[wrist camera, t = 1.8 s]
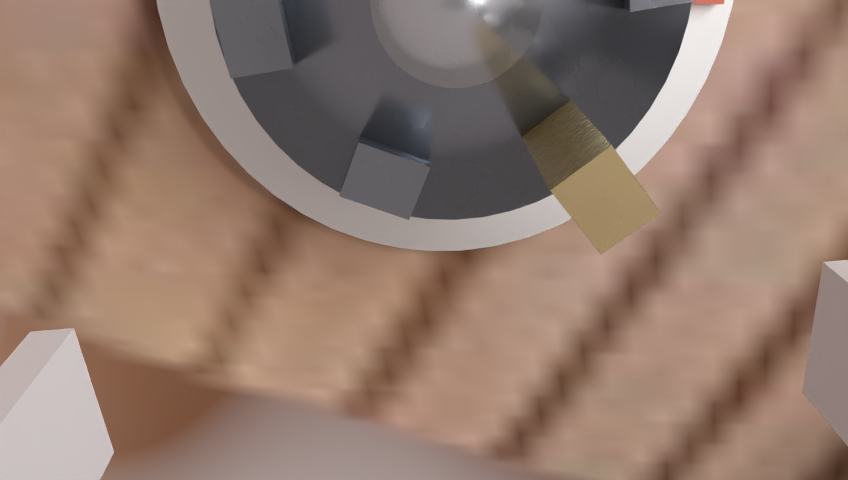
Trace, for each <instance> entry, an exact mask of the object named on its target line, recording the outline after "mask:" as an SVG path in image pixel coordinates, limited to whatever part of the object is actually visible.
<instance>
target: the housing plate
mask: <svg viewBox="0 0 848 480" xmlns="http://www.w3.org/2000/svg"><path fill="white" fill-rule="evenodd" d="M732 5H733V0H696V1H694V2H692V4H691V9H690V15H689V21H688V24H687V27H686V31H685V34H684V37H683V40H682V44H681V47H680V50H679V53H678V55H677V58H676V60H675V62H674V64H673V67H672V69H671V71H670V74H669V76H668V78H667V80H666V82H665V84H664V86H663V87H662V89H661V91H660V93H659V94H658V96H657V98H656V99H655V101H654V103H653V104H652V106H651V108H650V109H649V111H648V112H647V113H646V115H645V116H644V117H643V118H642V120H641V121H640V122H639V124H638V125H637V126H636V128H635V129H634V130H633V132H632V133H631V134H630V135H629V136H628V137H627V138H626V139H625V140H624V141H623V142H622V143H621V144H620V145H619V147H618V148H617V149H616V152H617V153H618V154H619V156H620V157H621V159H622V160H623V161H624V163H625V164H626V165H627V167H628V168H629V170H630V171H631V172H632V174H633V175H635V174H636V173H637V172H638V171H639V170H640V169H642V168H643V167H644V166H645V165H646V163H647V162H648V161H649V160H650V159H651V158H652V157H653V156H654V155H655V154H656V153H657V151H658V150H659V149H660V148H661V147H662V146H663V145H664V144H665V143H666V142H667V140H668V139H669V138H670V136H671V135H672V133H673V132H674V131H675V129H676V128H677V126H678V125H679V124H680V122H681V121H682V120H683V118H684V117H685V115H686V114H687V113H688V111H689V109H690V108H691V106H692V104H693V102H694V101H695V99H696V97H697V95H698V93H699V92H700V90H701V88H702V86H703V84H704V83H705V81H706V79H707V77H708V75H709V72H710V70H711V67H712V65H713V63H714V60H715V58H716V55H717V53H718V51H719V48H720V46H721V43H722V40H723V36H724V33H725V29H726V26H727V22H728V19H729V15H730V12H731V8H732ZM157 7H158V12H159V15H160V19H161V23H162V26H163V30H164V34H165V37H166V41H167V45H168V48H169V51H170V53H171V55H172V58H173V60H174V63H175V65H176V68H177V70H178V73H179V75H180V77H181V80H182V82H183V85H184V86H185V88H186V90H187V92H188V93H189V95H190V97H191V99H192V101H193V102H194V104H195V106H196V108H197V110H198V111H199V113H200V115H201V117H202V118H203V119H204V121H205V122H206V124H207V125H208V126H209V128H210V129H211V130H212V132H213V133H214V135H215V136H216V137H217V139H218V140H219V141H220V143H221V144H222V146H223V147H224V148H225V149H226V150H227V151H228V152H229V153H230V154H231V155H232V157H233V158H234V159H235V160H236V161H237V162H238V163H239V164H240V165H241V166H242V167H243V168H244V169H245V171H246V172H247V173H248V174H250V175H251V176H252V177H253V178H254V179H256V180H257V181H258V182H259V183H260V184H262V185H263V186H264V187H265V188H266V189H267V190H269V191H270V192H271V193H272V194H273V195H275V196H276V197H278V198H279V199H281V200H282V201H284V202H285V203H287V204H288V205H290V206H291V207H293V208H294V209H296V210H297V211H299V212H300V213H302V214H304V215H306V216H308V217H310V218H312V219H314V220H316V221H318V222H320V223H322V224H324V225H326V226H328V227H330V228H332V229H334V230H337V231H340V232H342V233H345V234H348V235H351V236H354V237H356V238H359V239H362V240H365V241H369V242H374V243H378V244H383V245H387V246H392V247H396V248H405V249H414V250H424V251H462V250H470V249H477V248H485V247H492V246H497V245H501V244H505V243H509V242H513V241H517V240H520V239H524V238H528V237H530V236H533V235H535V234H538V233H541V232H543V231H546V230H548V229H551V228H554V227H556V226H559V225H560V224H562V223H564V222H566V221H568V220H570V219H572V218H571V216H570V215H569V214H568V213H567V211H566V210H565V209H564V208H563V206H562V205H561V204H560V203H559V201H558V200H557V199H556V197H555V196H554V195H553V194H552V195H550V196H548V197H546V198H544V199H542V200H540V201H538V202H535V203H533V204H530V205H527V206H524V207H521V208H518V209H515V210H512V211H509V212H504V213H500V214H495V215H491V216H486V217H479V218H469V219H459V220H443V219H423V218H417V217H410V219H409V220H407V219H404V218H401V217H398V216H395V215H392V214H389V213H387V212H384V211H381V210H378V209H375V208H372V207H369V206H366V205H363V204H360V203H357V202H354V201H352V200H349V199H346V198H343V197H340V196H339V195H340V193H339V192H337V191H335V190H334V189H332V188H330V187H328V186H327V185H325V184H323V183H321V182H320V181H319V180H317V179H316V178H315V177H313V176H312V175H310V174H309V173H308V172H306V171H305V170H304V169H302V168H301V167H300V166H298V165H297V164H296V163H295V162H294V161H293V160H292V159H291V158H290V157H289V156H288V155H287V154H286V153H284V152H283V151H282V150H281V149H280V148H279V147H278V146H277V145H276V144H275V143H274V141H273V140H272V139H271V138H270V136H269V135H268V134H267V133H266V132H265V130H264V129H263V128H262V127H261V126H260V124H259V123H258V122H257V121H256V119H255V117H254V116H253V114H252V113H251V111H250V110H249V108H248V106H247V105H246V103H245V102H244V100H243V99H242V97H241V95H240V93H239V91H238V89H237V87H236V85H235V83H234V81H233V79H232V78H231V79H230V76H229V72H228V68H227V66H226V63H225V60H224V57H223V54H222V51H221V48H220V45H219V42H218V39H217V36H216V31H215V26H214V21H213V16H212V11H211V6H210V1H209V0H157Z"/></svg>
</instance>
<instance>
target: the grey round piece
mask: <svg viewBox="0 0 848 480" xmlns="http://www.w3.org/2000/svg"><path fill="white" fill-rule="evenodd" d="M209 1H210V6H211V11H212V16H213V21H214V26H215V31H216V36H217V39H218V42H219V45H220V48H221V51H222V54H223V57H224V60H225V63H226V66H227V68H228V72H229V76H230V79H231V78H232V79H233V81H234V83H235V85H236V87H237V89H238V91H239V93H240V95H241V97H242V99H243V100H244V102H245V103H246V105H247V106H248V108H249V110H250V111H251V113H252V114H253V116H254V117H255V119H256V121H257V122H258V123H259V124H260V126H261V127H262V128H263V129H264V130H265V132H266V133H267V134H268V135H269V136H270V138H271V139H272V140H273V141H274V143H275V144H276V145H277V146H278V147H279V148H280V149H281V150H282V151H283V152H284V153H286V154H287V155H288V156H289V157H290V158H291V159H292V160H293V161H294V162H295V163H296V164H297V165H298V166H300V167H301V168H302V169H304V170H305V171H306V172H308V173H309V174H310V175H312V176H313V177H315V178H316V179H317V180H319V181H320V182H321V183H323V184H325V185H327V186H328V187H330V188H332V189H334V190H335V191H337V192H339V193H340V195H339V196H340V197H343V198H346V199H349V200H352V201H354V202H357V203H360V204H363V205H366V206H369V207H372V208H375V209H378V210H381V211H384V212H387V213H389V214H392V215H395V216H398V217H401V218H404V219H407V220H409V219H410V217H417V218H423V219H443V220H459V219H469V218H479V217H486V216H491V215H495V214H500V213H504V212H509V211H512V210H515V209H518V208H521V207H524V206H527V205H530V204H533V203H535V202H538V201H540V200H542V199H544V198H546V197H548V196H550V195H552V194H553V195H554V196H555V197H556V199H557V200H558V201H559V203H560V204H561V205H562V206H563V208H564V209H565V210H566V211H567V213H568V214H569V215H570V216H571V218H572V219H573V220H574V222H575V223H576V224H577V225H578V227H579V228H580V229H581V230H582V232H583V233H584V234H585V235H586V237H587V238H588V239H589V241H590V242H591V243H592V244H593V246H594V247H595V248H596V249H597V251H598V252H599V253H600V254H602V253H604V252H605V251H607V250H608V249H610V248H611V247H613V246H614V245H615V244H617V243H618V242H620V241H621V240H623V239H624V238H625V237H627V236H628V235H630V234H631V233H633V232H634V231H636V230H637V229H638V228H640V227H641V226H643V225H644V224H646V223H647V222H649V221H650V220H651V219H653V218H654V217H656V216H657V215H659V214H660V213H661V212H660V211H659V209H658V208H657V207H656V205H655V204H654V202H653V201H652V200H651V198H650V197H649V196H648V194H647V193H646V191H645V190H644V189H643V187H642V186H641V185H640V183H639V182H638V181H637V179H636V178H635V176H634V175H633V174H632V172H631V171H630V170H629V168H628V167H627V165H626V164H625V163H624V161H623V160H622V159H621V157H620V156H619V154H618V153H617V152H616V149H617V148H618V147H619V145H620V144H621V143H622V142H623V141H624V140H625V139H626V138H627V137H628V136H629V135H630V134H631V133H632V132H633V130H634V129H635V128H636V126H637V125H638V124H639V122H640V121H641V120H642V118H643V117H644V116H645V115H646V113H647V112H648V111H649V109H650V108H651V106H652V104H653V103H654V101H655V99H656V98H657V96H658V94H659V93H660V91H661V89H662V87H663V86H664V84H665V82H666V80H667V78H668V76H669V74H670V71H671V69H672V67H673V64H674V62H675V60H676V58H677V55H678V53H679V50H680V47H681V44H682V40H683V37H684V34H685V31H686V27H687V24H688V21H689V15H690V9H691V4H692V2H694V1H696V0H209Z"/></svg>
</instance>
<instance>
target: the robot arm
mask: <svg viewBox="0 0 848 480" xmlns="http://www.w3.org/2000/svg"><path fill="white" fill-rule="evenodd" d="M803 393H804V395H805V396H806V397H807V398H808V399H809V401H810V402H811V403H812V404H813V405H814V407H815V408H816V409H817V410H818V411H819V412H820V414H821V415H822V416H823V417H824V418H825V420H826V421H827V422H828V423H829V424H830V426H831V427H832V428H833V429H834V430H835V432H836V433H837V434H838V435H839V436H840V438H841V439H842V440H843V441H844V442H845V444H846V445H847V446H848V260H841V261H829V262H823V266H822V272H821V279H820V285H819V291H818V297H817V304H816V310H815V316H814V323H813V329H812V335H811V341H810V348H809V354H808V360H807V367H806V373H805V379H804V385H803ZM113 454H114V451H113V448H112V445H111V441H110V439H109V436H108V432H107V429H106V426H105V423H104V420H103V417H102V414H101V410H100V408H99V404H98V401H97V398H96V396H95V392H94V389H93V386H92V383H91V380H90V377H89V373H88V371H87V367H86V364H85V361H84V358H83V355H82V352H81V349H80V346H79V342H78V339H77V336H76V333H75V330H74V328H69V329H58V330H46V331H35V332H30V333H29V334H28V335H27V336H26V337H25V339H24V340H23V341H22V342H21V343H20V345H19V346H18V347H17V348H16V349H15V350H14V351H13V353H12V354H11V355H10V356H9V357H8V358H7V359H6V361H5V362H4V363H3V364H2V365H1V366H0V480H100V479H101V477H102V475H103V473H104V471H105V469H106V467H107V465H108V463H109V461H110V459H111V457H112V455H113Z"/></svg>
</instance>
